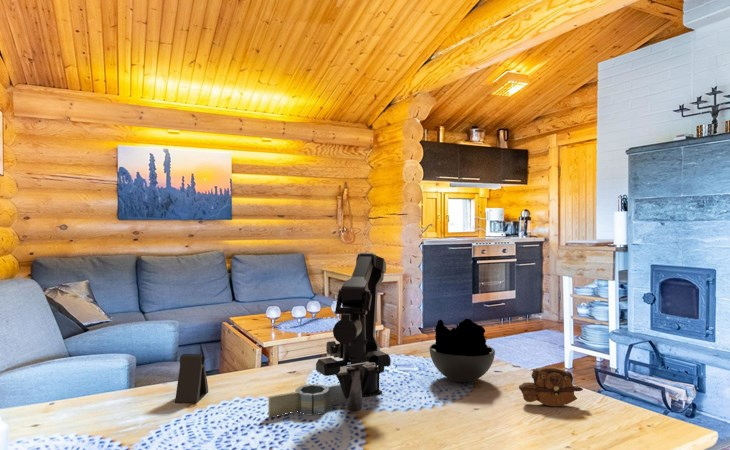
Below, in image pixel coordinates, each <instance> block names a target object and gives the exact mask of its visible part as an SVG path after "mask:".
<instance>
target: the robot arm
mask: <svg viewBox="0 0 730 450" xmlns="http://www.w3.org/2000/svg"><path fill="white" fill-rule="evenodd" d="M386 271H387V262H386V260H385V258H384V257H381V256H378V255H377V254H376V253H374V252H360V253H358V254H357V257H356V261H355V267H354V269H353V272H352V274H351V278H349V279H346V280H345V281H344V282H343V284H342V285H341V287H340V288H339V289H338V294H337V299H336V305H335V309H334V314H335V315H340V319H339V320H338V321H337V322H336V323H335V324H334V325H333V328H332V335H333V337H334V339H335V340H336V341H337V342H338V343H336V341H335V340H331V341H327V342H326V354H327V355H333V358H332V357H326V358H325V357H324V358H323V357H322V358H318V359H317V361H316V363H315V371H316V372H318V373H320V374H321V375H323V376H324V377H329V376H336V378H337V380H338V383H339V384H340V385H341V388H342V391H343V394H344V397H345V398H346V399H348V395H349V381H350V374H349V373H348V372H347V368H348V367H360V368H362V398H363V397H364V398H365V397H369V396H373V395H374V394H375V395H379V393H380V394H383V390H381V389H380V374H381V373H385V367H390V366H391V360H392V359H391V357H390V355H389V354H388V353H386V352H384V351H382V350H381V347H380V343H378V340H377V338H376V327H377V310H378V309H377V307H378V291H379V287H380V285H381V284H382V282H383V281H384V277H385V274H386ZM336 358H338V359H339V360H336ZM340 359H341V360H340ZM375 395H374V396H375Z"/></svg>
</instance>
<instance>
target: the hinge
mask: <svg viewBox="0 0 730 450" xmlns="http://www.w3.org/2000/svg"><path fill="white" fill-rule="evenodd" d="M267 401H268V406H267V407H268V409H267V410H268V414H267V415H268V416H269V417H271V418H274V417H273V416H276V417H278V416H277V415H281V416H283V415H282V414H285V413H290V412H296V413H299V414H301V413H304V414H303V415H306V414H312V415H313V414H316V415H319V414H318V413H321V414H325V413H327V412H328V411H329V409H330V407H331V406H337V405H341V404H346V398H345V397H344V394H343V391H342V388H341V385H340V383H339V384H338V383H337V384H334V385H333V384H332V385H328V386H327V385H324V384H315V383H311V384H310V383H309V384H304V385H300V386H298V387H297V388H296V389H295V391H292V392H288V393H287V392H286V393H281V394H275V395H269V396H268V400H267ZM297 411H298V412H297ZM300 412H301V413H300ZM269 417H268V418H269Z"/></svg>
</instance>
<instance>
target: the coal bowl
mask: <svg viewBox="0 0 730 450" xmlns="http://www.w3.org/2000/svg"><path fill="white" fill-rule="evenodd" d="M434 328H435V329H434V332H435V336H434V337H435V338H434V339H435V343H432V344H431V345H429V348H428V349H429V355H430V358H431V361H432V363H433V365H434V367H435V368H436V370H437V371H438V372H439V373H440V374H442V376H444V377H445V378H447V379H449V380H452V381H455V382H460V383H467V382H469V383H470V382H472V381H476V380H478V379H480V378H481V377H483V376H484V375H485V374H487V372H488V371H490V368H491V367H492V365H493V362H494V359H495V355H496V350H495V349H494V348H493V347H492V346H489V345H487V339H486V337H485V332H486V329H485V327H483V326H482V325H479V324H477V323H475V322H474V321H473V320H471V318H465V319H463V320H462V321H459V322H458V325H457V326H456V327H452V328H451V329H449V328H448V327H447V326H446V325H444V320H442V319H441V318H440V319H438V321H437V323H436V326H435V327H434Z"/></svg>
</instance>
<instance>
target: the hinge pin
mask: <svg viewBox="0 0 730 450" xmlns="http://www.w3.org/2000/svg"><path fill="white" fill-rule="evenodd" d="M347 372H348V373H349V374H350V381H349V395H348V399H346V403H345V409H346V411H348V412H351V413H352V412H353V413H356V412H360V411H362V409H363V403H362V402H363V396H362V368H360V367H347Z"/></svg>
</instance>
